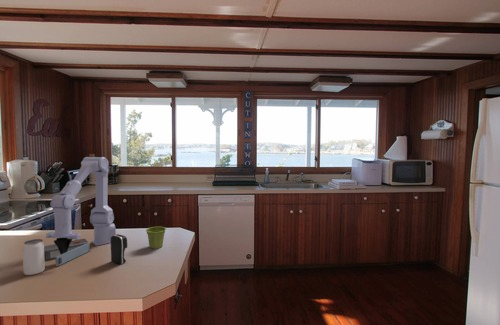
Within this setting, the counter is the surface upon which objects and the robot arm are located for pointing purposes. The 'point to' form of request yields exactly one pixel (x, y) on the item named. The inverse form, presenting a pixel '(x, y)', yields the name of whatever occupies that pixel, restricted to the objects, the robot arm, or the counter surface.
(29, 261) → the can
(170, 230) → the counter surface
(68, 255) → the grey bar handle
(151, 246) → the plant pot
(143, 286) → the counter surface
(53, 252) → the grey rectangular box
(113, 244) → the battery charger
